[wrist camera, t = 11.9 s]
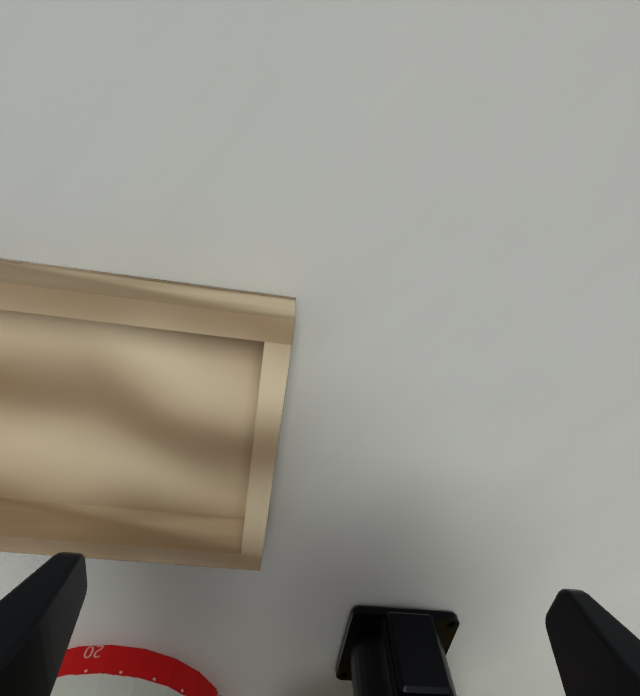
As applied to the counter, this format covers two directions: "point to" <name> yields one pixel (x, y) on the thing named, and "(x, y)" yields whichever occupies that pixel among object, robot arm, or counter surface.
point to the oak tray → (138, 416)
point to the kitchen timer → (127, 674)
